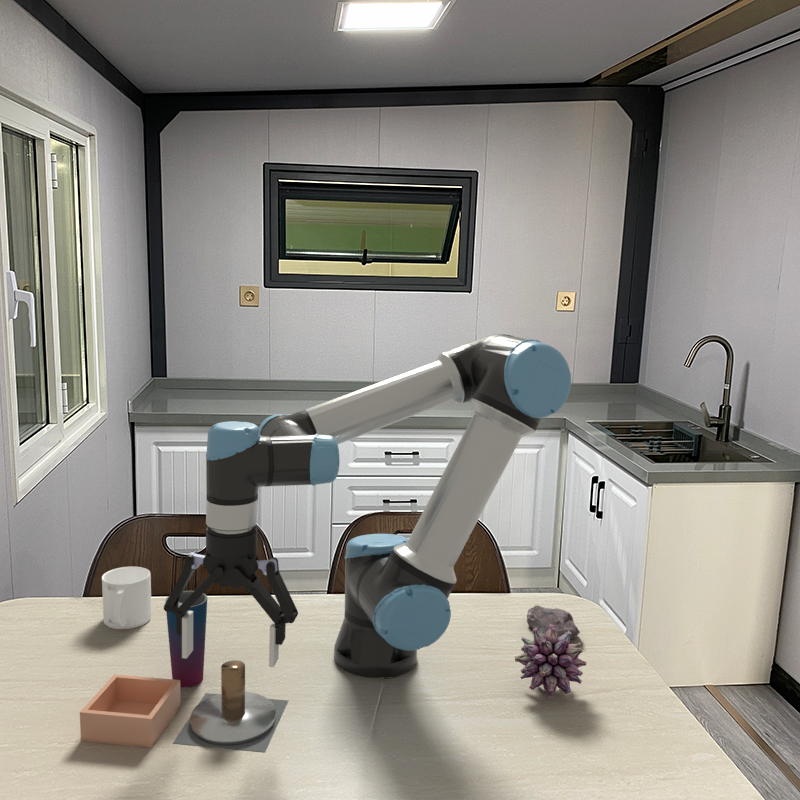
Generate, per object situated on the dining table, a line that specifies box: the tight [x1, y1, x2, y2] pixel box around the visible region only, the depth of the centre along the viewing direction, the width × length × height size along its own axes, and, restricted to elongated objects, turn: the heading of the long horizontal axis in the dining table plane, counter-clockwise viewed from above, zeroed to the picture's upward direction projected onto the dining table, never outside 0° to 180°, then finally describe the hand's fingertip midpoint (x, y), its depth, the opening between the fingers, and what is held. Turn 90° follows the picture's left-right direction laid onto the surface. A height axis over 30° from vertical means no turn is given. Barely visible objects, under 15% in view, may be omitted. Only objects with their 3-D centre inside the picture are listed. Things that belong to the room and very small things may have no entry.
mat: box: [172, 692, 289, 753], centre depth 124 cm, size 14×14×1 cm
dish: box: [79, 674, 182, 749], centre depth 122 cm, size 11×11×5 cm
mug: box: [101, 566, 153, 630], centre depth 156 cm, size 12×9×9 cm
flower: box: [514, 624, 587, 700], centre depth 134 cm, size 12×12×12 cm
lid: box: [189, 659, 276, 746], centre depth 123 cm, size 13×13×9 cm
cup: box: [164, 590, 208, 688], centre depth 134 cm, size 7×7×15 cm
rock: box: [526, 604, 581, 640], centre depth 158 cm, size 8×11×5 cm
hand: (230, 658), depth 122 cm, fingers open, 13 cm apart
